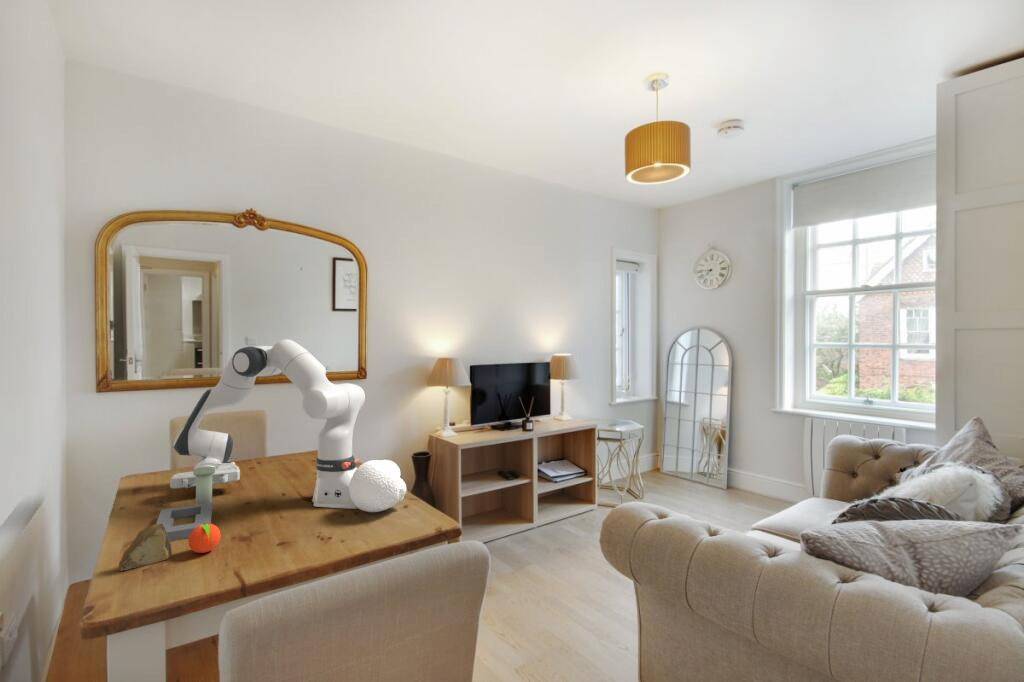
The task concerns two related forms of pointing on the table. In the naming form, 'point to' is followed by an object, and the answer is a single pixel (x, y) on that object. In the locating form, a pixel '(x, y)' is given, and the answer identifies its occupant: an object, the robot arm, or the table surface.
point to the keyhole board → (184, 531)
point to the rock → (147, 548)
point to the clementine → (204, 538)
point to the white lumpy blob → (377, 486)
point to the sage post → (204, 484)
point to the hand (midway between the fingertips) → (205, 483)
